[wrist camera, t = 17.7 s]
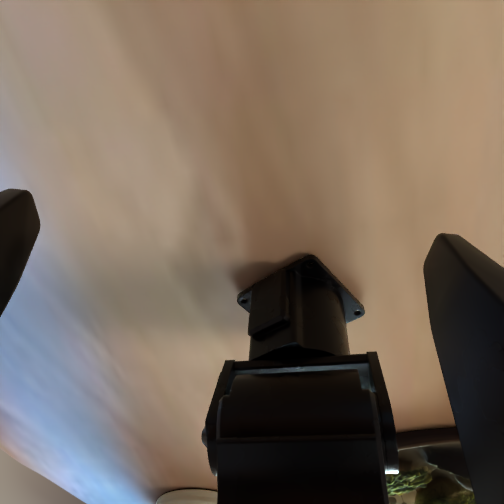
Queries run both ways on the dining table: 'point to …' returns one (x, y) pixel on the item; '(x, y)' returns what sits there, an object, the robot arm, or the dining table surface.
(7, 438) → the dining table surface
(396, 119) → the dining table surface
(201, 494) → the jar
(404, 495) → the salad plate
